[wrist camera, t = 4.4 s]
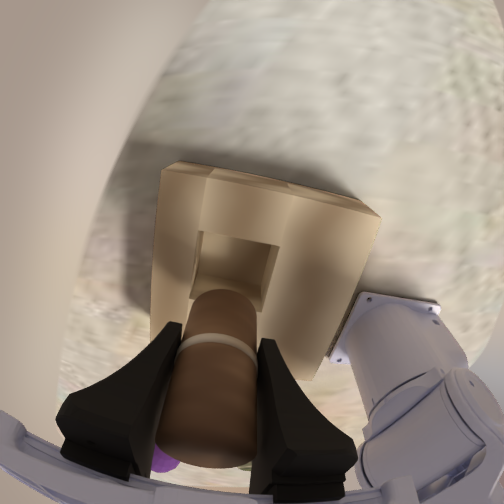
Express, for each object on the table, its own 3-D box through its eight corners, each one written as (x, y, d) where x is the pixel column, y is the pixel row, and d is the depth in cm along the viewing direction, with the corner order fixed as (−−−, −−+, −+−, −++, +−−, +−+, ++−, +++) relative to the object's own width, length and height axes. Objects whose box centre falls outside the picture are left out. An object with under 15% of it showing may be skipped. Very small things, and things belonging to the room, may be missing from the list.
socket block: (360, 200, 20) (382, 218, 16) (305, 348, 26) (311, 381, 22) (179, 160, 19) (161, 169, 15) (162, 323, 25) (150, 354, 21)
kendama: (109, 472, 35) (136, 453, 27) (123, 450, 41) (155, 419, 32) (138, 490, 36) (178, 476, 27) (150, 466, 41) (193, 442, 33)
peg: (267, 298, 15) (274, 437, 8) (246, 348, 17) (242, 473, 9) (196, 279, 15) (156, 413, 7) (184, 332, 16) (151, 455, 9)
